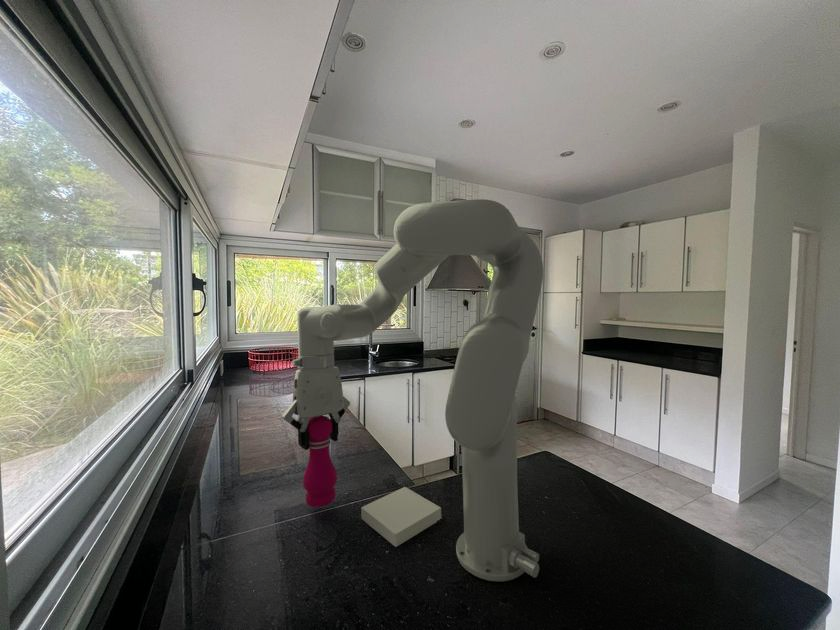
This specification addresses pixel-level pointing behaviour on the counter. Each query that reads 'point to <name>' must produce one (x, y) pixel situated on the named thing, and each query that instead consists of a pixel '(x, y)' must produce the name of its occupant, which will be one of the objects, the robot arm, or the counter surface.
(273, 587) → the counter surface
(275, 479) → the counter surface
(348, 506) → the counter surface
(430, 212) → the robot arm
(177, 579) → the counter surface
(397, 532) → the glazed tile
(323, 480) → the pepper mill
